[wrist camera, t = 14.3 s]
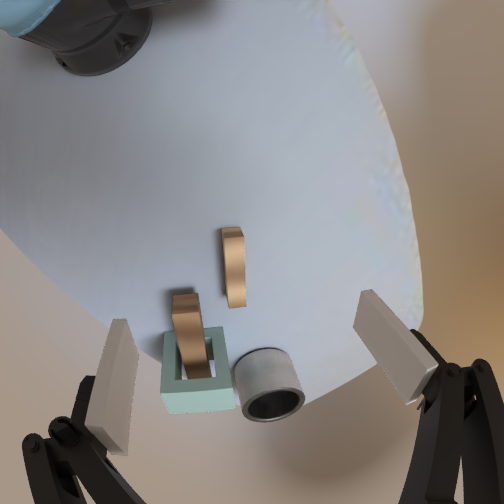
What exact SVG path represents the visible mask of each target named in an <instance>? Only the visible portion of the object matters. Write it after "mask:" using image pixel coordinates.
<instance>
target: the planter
mask: <svg viewBox="0 0 504 504" xmlns="http://www.w3.org/2000/svg"><path fill="white" fill-rule="evenodd" d="M234 375H235V381H236V385H237V390H238V394H239V399H240V404H241V408H242V413H243V415H244V416H245V417H246V418H247V419H249V420H251V421H255V422H272V421H277V420H280V419H283V418H286V417H288V416H290V415H292V414H293V413H295V412H296V411H298V410H299V409H300V408H301V407H302V405H303V404H304V401H305V395H304V392H303V390H302V387H301V385H300V382H299V380H298V377H297V374H296V372H295V369H294V366H293V364H292V361H291V359H290V357H289V356H288V355H287V354H286V353H285V352H283V351H280V350H277V349H262V350H258V351H255V352H252V353H250V354H248V355H246V356H245V357H243V358H242V359H241V360H240V361H239V362H238V363H237V365H236V367H235V371H234Z"/></svg>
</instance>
